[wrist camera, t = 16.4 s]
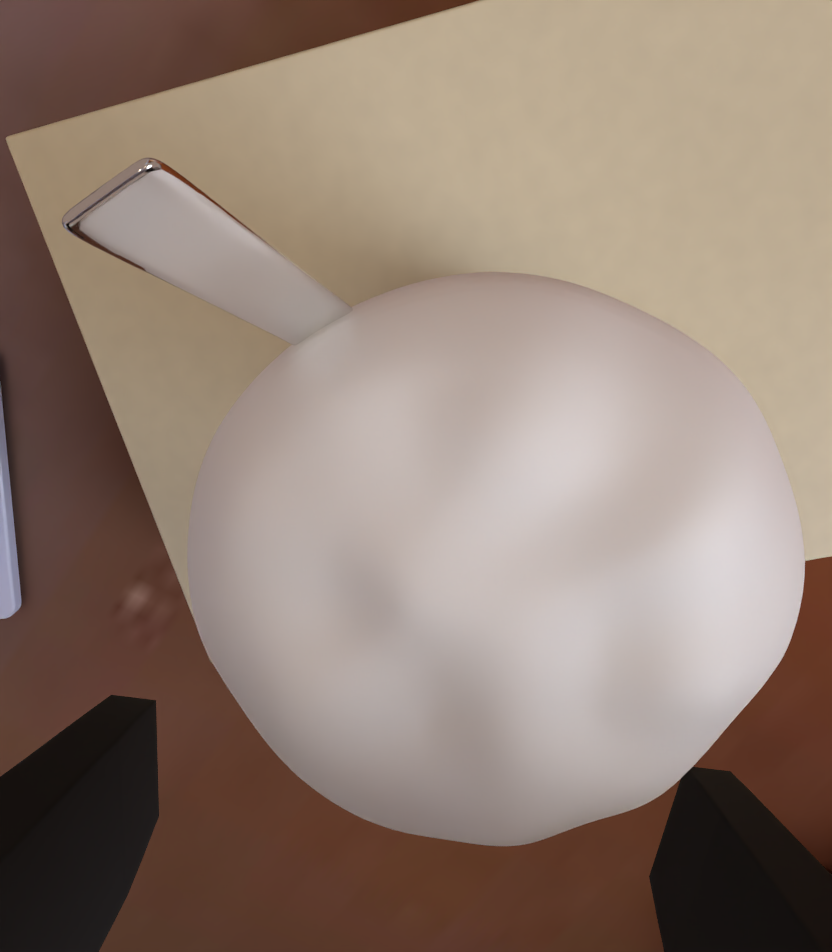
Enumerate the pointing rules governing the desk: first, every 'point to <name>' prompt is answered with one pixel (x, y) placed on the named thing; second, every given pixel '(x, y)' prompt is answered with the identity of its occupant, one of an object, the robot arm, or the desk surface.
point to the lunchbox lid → (483, 201)
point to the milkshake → (471, 532)
